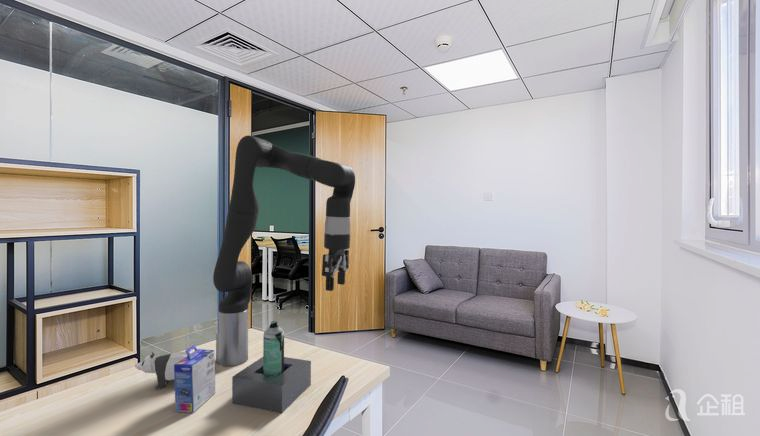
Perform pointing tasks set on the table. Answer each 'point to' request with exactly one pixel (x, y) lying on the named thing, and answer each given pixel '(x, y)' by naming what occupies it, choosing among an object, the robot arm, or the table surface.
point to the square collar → (271, 385)
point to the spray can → (273, 350)
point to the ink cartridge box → (194, 379)
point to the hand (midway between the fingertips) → (335, 287)
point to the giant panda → (161, 366)
